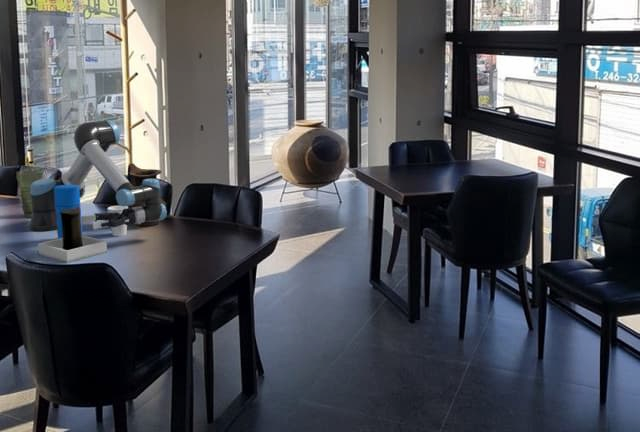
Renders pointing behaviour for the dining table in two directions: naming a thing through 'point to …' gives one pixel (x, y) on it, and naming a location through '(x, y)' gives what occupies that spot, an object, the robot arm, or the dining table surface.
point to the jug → (137, 179)
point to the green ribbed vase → (27, 187)
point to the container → (71, 229)
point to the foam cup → (122, 228)
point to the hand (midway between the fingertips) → (86, 222)
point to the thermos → (66, 203)
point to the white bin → (58, 253)
